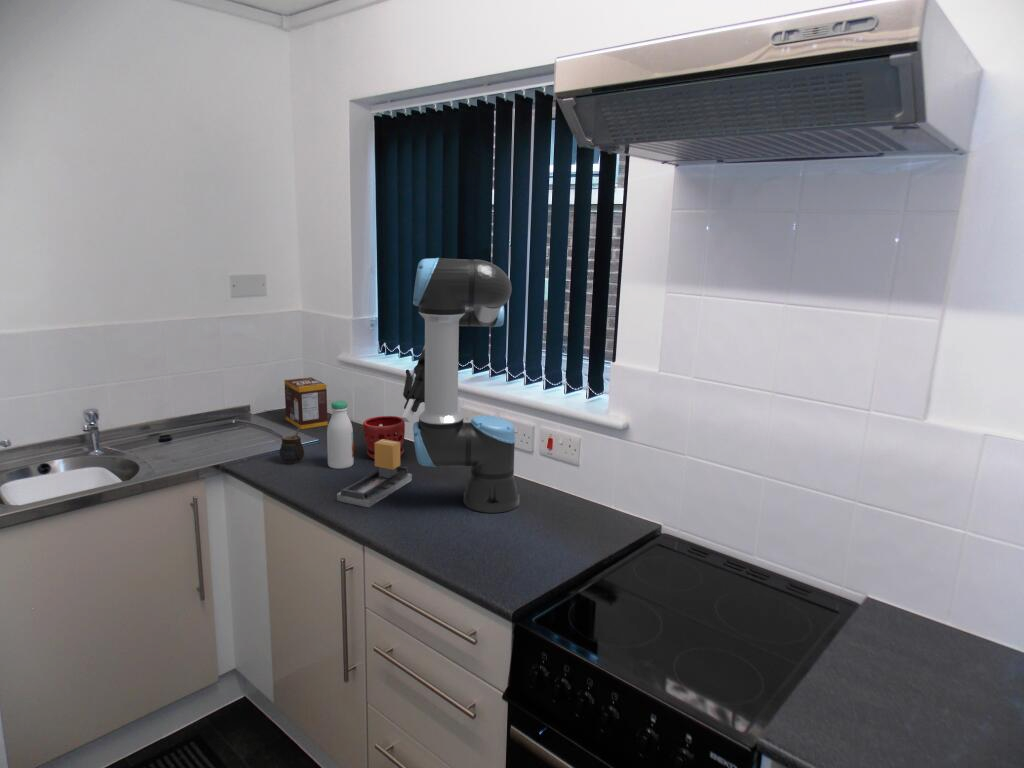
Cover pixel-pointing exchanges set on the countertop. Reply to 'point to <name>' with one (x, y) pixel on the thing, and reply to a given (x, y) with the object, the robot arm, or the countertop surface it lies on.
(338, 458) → the milk bottle
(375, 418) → the plant pot
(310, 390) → the supplement box
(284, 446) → the mate gourd
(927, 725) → the countertop surface
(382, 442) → the fader knob
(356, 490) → the fader strip
